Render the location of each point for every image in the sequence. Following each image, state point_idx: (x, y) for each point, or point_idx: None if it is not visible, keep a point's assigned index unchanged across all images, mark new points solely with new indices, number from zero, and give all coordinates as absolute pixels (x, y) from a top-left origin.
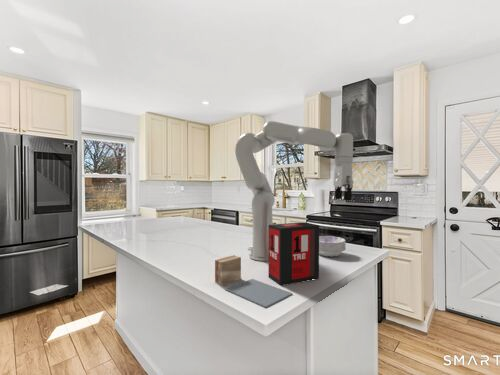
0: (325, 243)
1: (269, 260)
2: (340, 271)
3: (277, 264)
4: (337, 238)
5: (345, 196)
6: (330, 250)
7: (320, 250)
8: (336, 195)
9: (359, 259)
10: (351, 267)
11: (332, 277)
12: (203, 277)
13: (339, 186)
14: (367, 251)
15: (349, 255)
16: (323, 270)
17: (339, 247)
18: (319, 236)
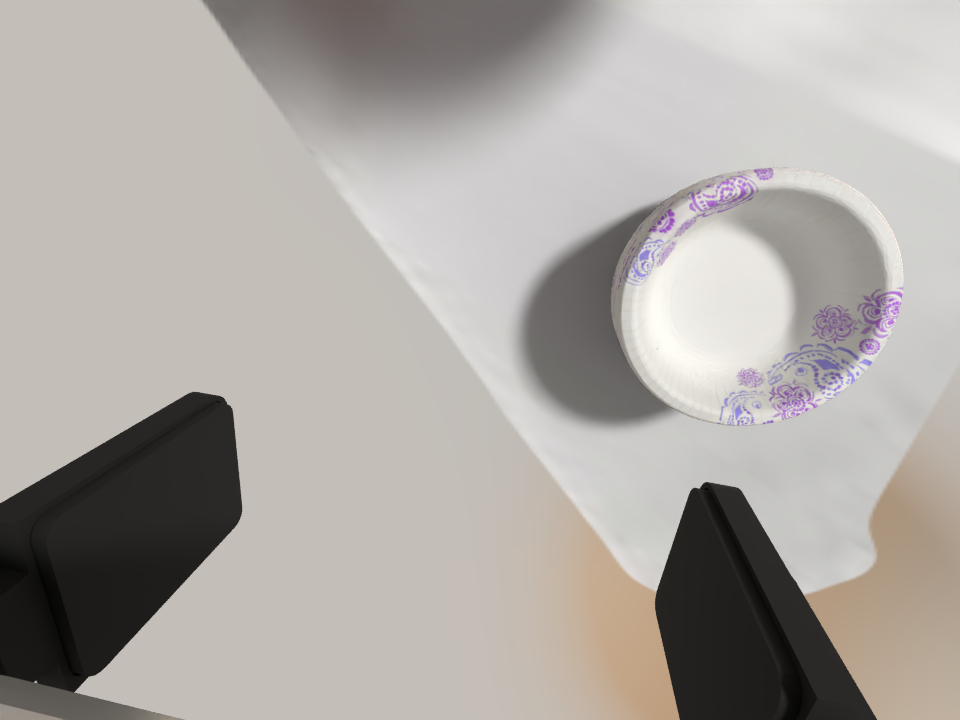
0: (660, 216)
1: None
2: (379, 166)
3: None
4: (775, 400)
5: (139, 450)
6: (627, 245)
7: (686, 188)
8: (711, 558)
9: (556, 396)
10: (433, 267)
11: (295, 66)
12: None
13: (61, 691)
14: None
15: (646, 392)
16: (406, 68)
17: (614, 315)
18: (897, 276)
